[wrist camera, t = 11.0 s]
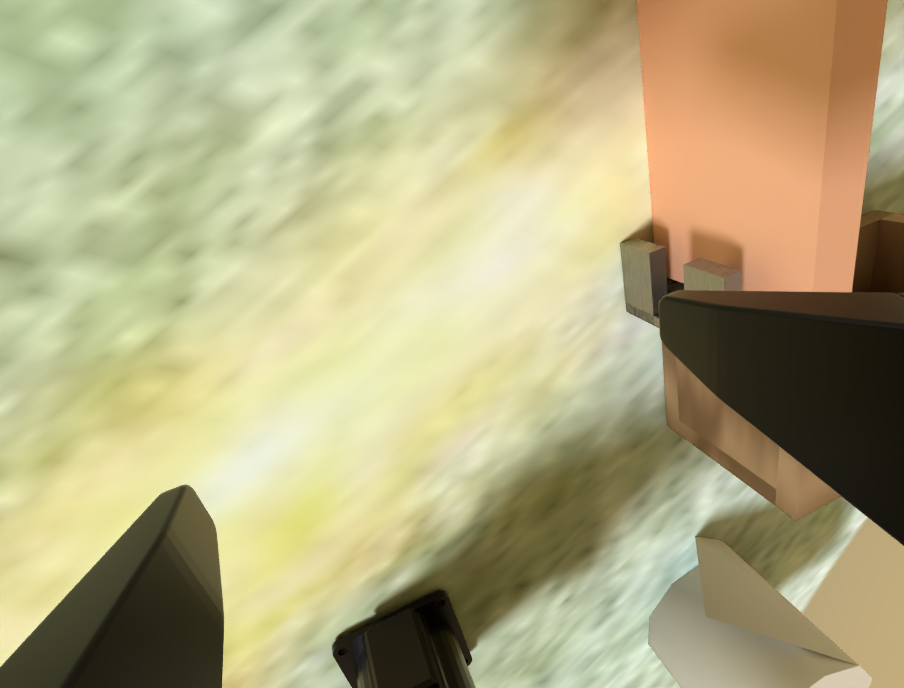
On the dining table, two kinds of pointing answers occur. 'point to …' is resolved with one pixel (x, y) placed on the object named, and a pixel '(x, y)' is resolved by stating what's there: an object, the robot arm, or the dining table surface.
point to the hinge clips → (650, 278)
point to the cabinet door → (760, 134)
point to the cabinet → (737, 441)
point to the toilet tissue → (742, 632)
